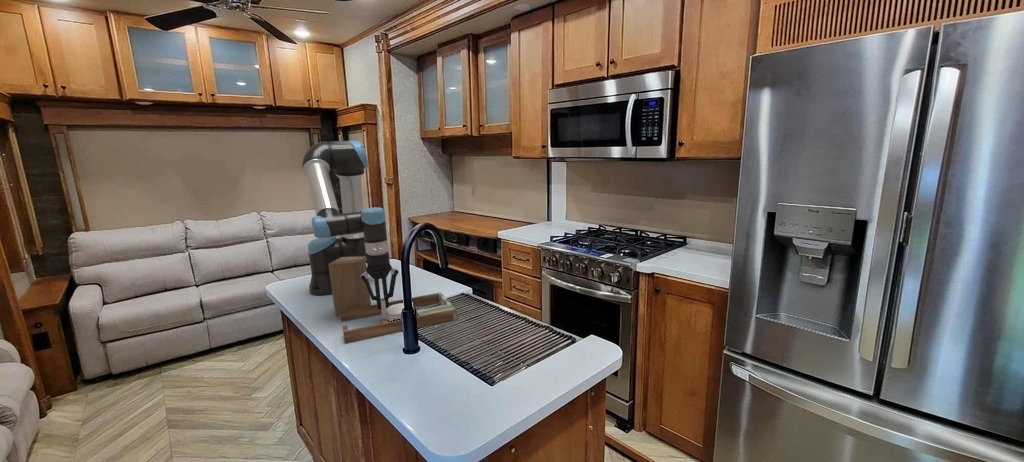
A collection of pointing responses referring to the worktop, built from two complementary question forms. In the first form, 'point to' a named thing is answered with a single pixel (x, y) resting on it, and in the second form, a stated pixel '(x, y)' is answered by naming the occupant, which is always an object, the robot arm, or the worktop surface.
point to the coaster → (394, 312)
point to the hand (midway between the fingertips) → (384, 316)
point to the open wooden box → (385, 327)
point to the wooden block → (348, 283)
